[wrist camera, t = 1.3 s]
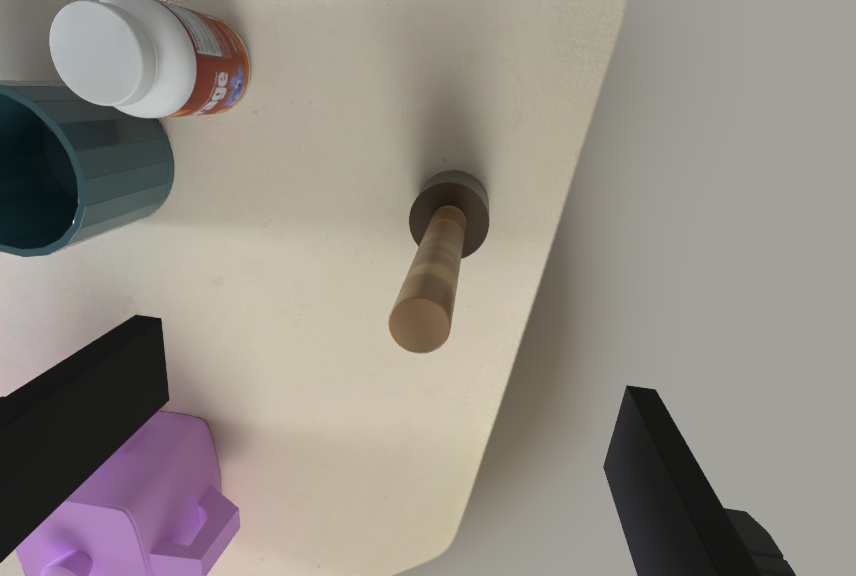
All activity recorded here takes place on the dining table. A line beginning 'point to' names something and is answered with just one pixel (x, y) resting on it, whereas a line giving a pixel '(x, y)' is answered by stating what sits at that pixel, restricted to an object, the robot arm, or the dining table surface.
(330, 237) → the dining table surface
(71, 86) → the pill bottle
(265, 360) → the dining table surface
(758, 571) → the robot arm
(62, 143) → the jar
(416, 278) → the brush
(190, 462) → the teakettle
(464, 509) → the dining table surface
